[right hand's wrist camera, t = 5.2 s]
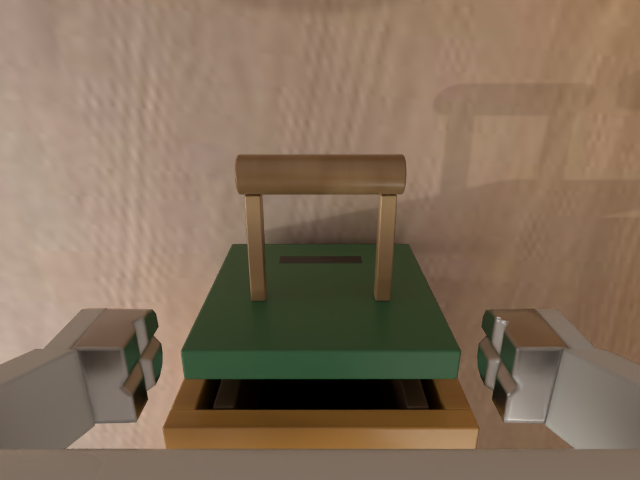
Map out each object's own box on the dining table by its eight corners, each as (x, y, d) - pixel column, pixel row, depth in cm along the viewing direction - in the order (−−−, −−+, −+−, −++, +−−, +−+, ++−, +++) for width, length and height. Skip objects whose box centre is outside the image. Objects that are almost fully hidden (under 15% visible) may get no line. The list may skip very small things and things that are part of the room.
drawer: (223, 131, 21) (155, 179, 13) (417, 131, 21) (486, 179, 13) (252, 497, 31) (224, 673, 22) (388, 497, 31) (417, 673, 22)
